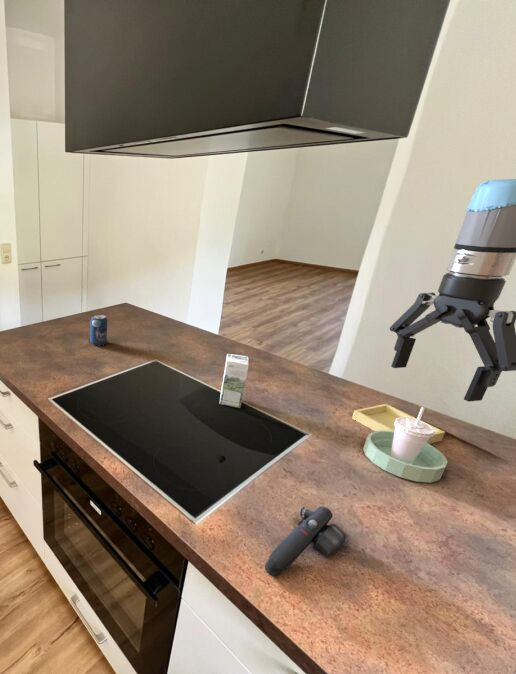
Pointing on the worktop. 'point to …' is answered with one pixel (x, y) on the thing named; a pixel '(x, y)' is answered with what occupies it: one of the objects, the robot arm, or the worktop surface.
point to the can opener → (306, 540)
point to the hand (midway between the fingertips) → (432, 382)
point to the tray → (387, 420)
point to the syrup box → (234, 380)
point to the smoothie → (410, 438)
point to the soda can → (98, 329)
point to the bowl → (421, 470)
